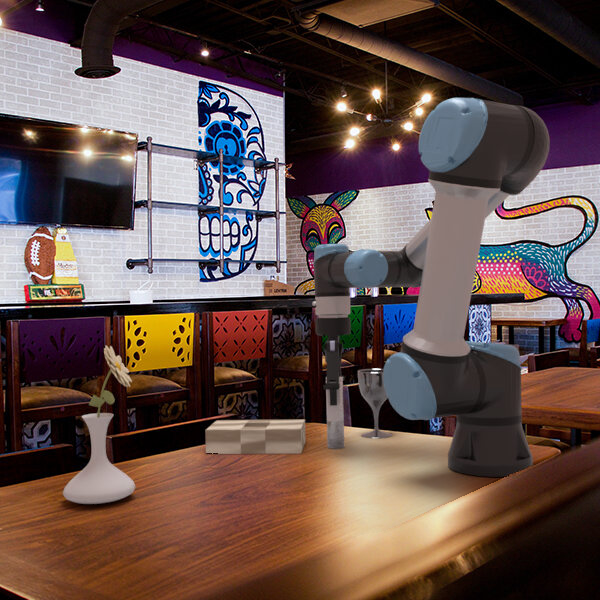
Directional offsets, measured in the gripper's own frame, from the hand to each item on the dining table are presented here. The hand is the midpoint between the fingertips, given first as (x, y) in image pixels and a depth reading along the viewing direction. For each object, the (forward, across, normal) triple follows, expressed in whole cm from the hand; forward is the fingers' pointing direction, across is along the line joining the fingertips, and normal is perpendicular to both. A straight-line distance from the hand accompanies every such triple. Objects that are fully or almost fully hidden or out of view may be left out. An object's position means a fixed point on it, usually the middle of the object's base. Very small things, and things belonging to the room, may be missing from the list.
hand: (335, 415), depth 152 cm
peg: (+7, 0, 0) cm, 7 cm away
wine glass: (+7, -13, +9) cm, 17 cm away
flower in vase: (+7, +39, -37) cm, 54 cm away
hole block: (+7, 0, -17) cm, 18 cm away
